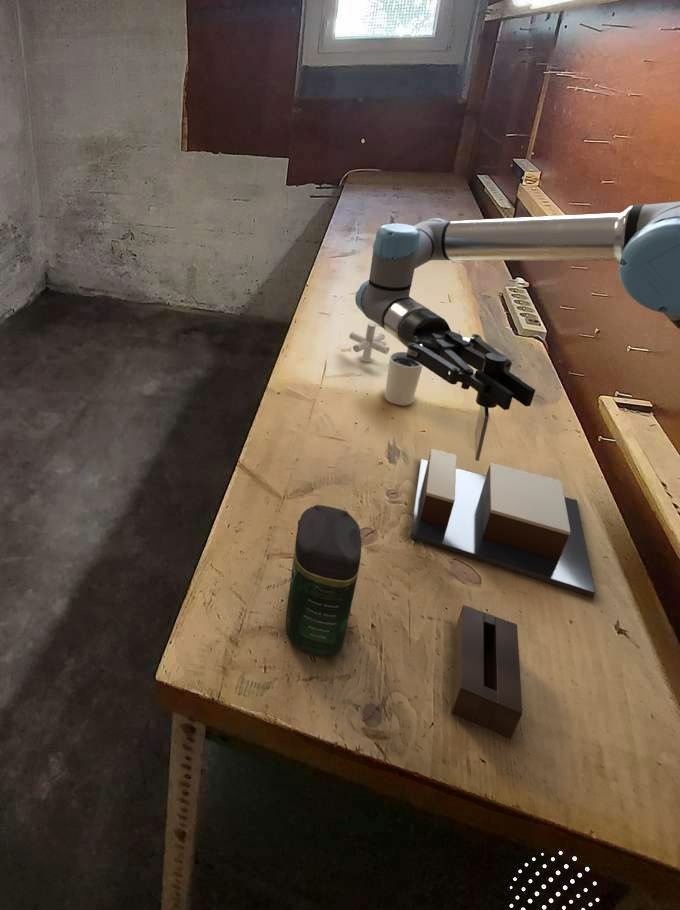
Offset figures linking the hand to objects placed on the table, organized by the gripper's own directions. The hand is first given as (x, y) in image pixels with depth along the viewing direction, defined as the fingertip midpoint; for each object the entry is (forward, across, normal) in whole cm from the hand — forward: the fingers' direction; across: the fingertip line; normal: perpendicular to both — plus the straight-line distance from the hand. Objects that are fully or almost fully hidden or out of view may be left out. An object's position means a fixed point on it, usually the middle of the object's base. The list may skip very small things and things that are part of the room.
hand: (519, 399), depth 80 cm
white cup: (-37, -10, -26) cm, 46 cm away
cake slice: (-7, +3, -25) cm, 26 cm away
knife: (-5, 0, -12) cm, 13 cm away
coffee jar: (+10, +33, -26) cm, 43 cm away
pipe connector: (-53, -12, -26) cm, 60 cm away
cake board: (-1, -4, -26) cm, 26 cm away
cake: (+1, -6, -25) cm, 25 cm away
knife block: (+21, +16, -26) cm, 37 cm away
